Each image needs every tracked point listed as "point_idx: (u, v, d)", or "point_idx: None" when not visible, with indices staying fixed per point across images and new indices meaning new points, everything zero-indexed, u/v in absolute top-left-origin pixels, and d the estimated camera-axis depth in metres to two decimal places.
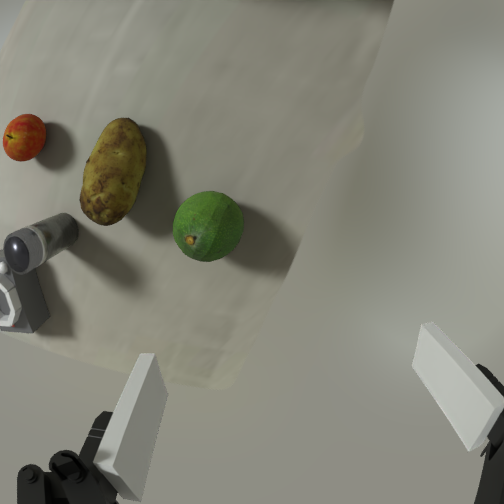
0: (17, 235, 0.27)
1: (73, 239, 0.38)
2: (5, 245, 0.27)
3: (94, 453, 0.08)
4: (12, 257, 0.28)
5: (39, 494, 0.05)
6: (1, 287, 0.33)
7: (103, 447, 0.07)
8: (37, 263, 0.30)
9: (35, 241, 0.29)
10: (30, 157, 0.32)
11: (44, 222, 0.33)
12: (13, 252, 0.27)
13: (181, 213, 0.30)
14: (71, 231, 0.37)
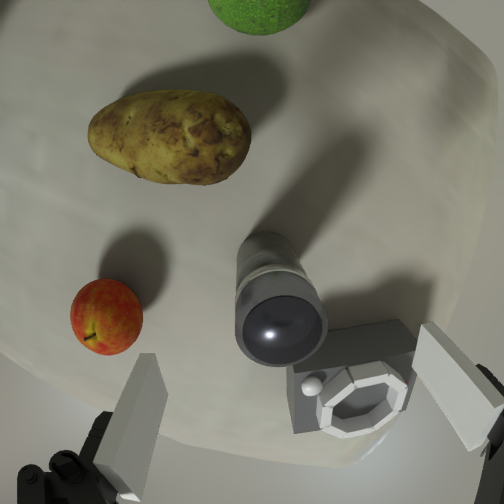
0: (240, 320, 0.16)
1: (280, 238, 0.26)
2: (260, 358, 0.17)
3: (94, 453, 0.08)
4: (288, 344, 0.16)
5: (39, 494, 0.05)
6: (344, 393, 0.23)
7: (103, 447, 0.07)
8: (309, 286, 0.17)
9: (262, 281, 0.17)
10: (134, 305, 0.25)
11: (237, 277, 0.22)
12: (277, 339, 0.16)
13: None
14: (265, 237, 0.25)
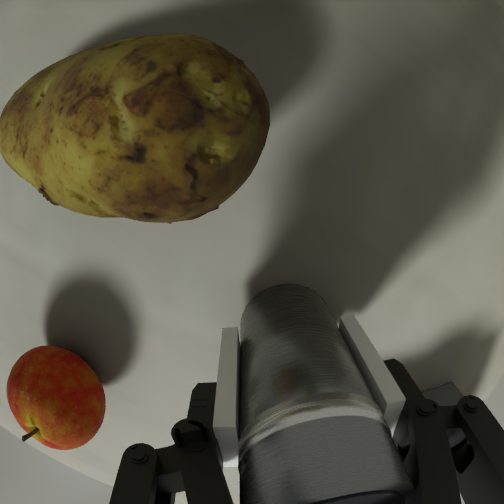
0: None
1: (313, 299, 0.15)
2: None
3: None
4: None
5: (145, 477, 0.07)
6: None
7: (219, 411, 0.09)
8: (388, 442, 0.07)
9: (298, 455, 0.06)
10: (87, 392, 0.14)
11: (243, 386, 0.11)
12: None
13: None
14: (290, 300, 0.15)
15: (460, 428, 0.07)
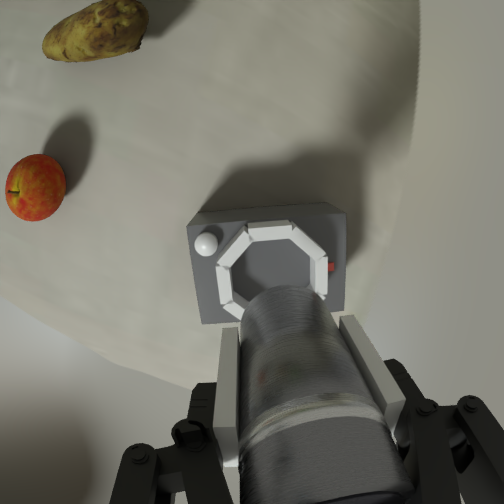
0: None
1: (313, 299, 0.15)
2: None
3: None
4: None
5: (145, 477, 0.07)
6: (238, 247, 0.23)
7: (219, 411, 0.09)
8: (388, 443, 0.07)
9: (298, 456, 0.06)
10: (56, 170, 0.24)
11: (243, 387, 0.11)
12: None
13: None
14: (289, 301, 0.14)
15: (460, 428, 0.07)
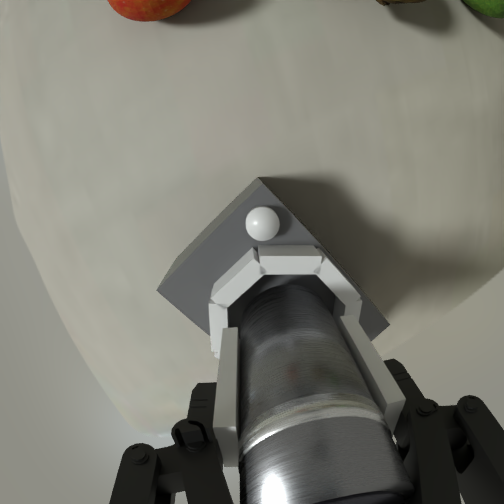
0: None
1: (313, 299, 0.15)
2: None
3: None
4: None
5: (146, 477, 0.07)
6: (297, 265, 0.16)
7: (219, 411, 0.09)
8: (388, 443, 0.07)
9: (298, 456, 0.06)
10: None
11: (243, 387, 0.11)
12: None
13: None
14: (290, 301, 0.14)
15: (460, 427, 0.07)
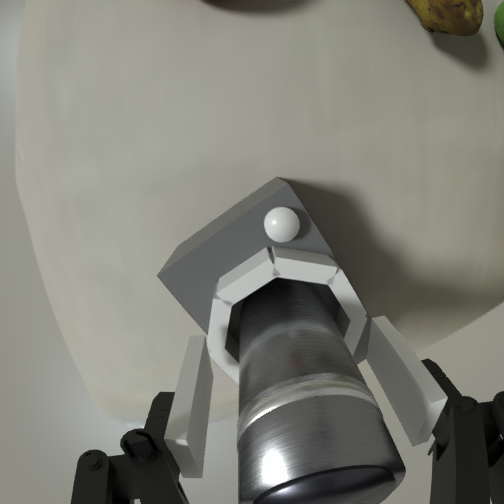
0: (247, 498, 0.06)
1: (309, 291, 0.16)
2: None
3: (158, 432, 0.09)
4: None
5: (100, 481, 0.06)
6: (312, 273, 0.15)
7: (172, 423, 0.09)
8: (378, 421, 0.08)
9: (292, 429, 0.07)
10: None
11: (241, 372, 0.12)
12: None
13: None
14: (286, 292, 0.15)
15: (497, 423, 0.07)
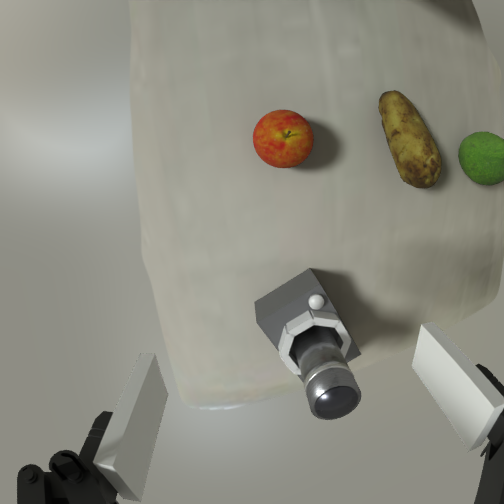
0: (314, 399, 0.26)
1: (326, 330, 0.36)
2: (322, 416, 0.26)
3: (94, 453, 0.08)
4: (338, 408, 0.26)
5: (39, 494, 0.05)
6: (328, 323, 0.35)
7: (103, 447, 0.07)
8: (351, 376, 0.27)
9: (326, 376, 0.27)
10: None
11: (303, 363, 0.32)
12: (333, 406, 0.26)
13: (492, 148, 0.28)
14: (317, 331, 0.35)
15: None
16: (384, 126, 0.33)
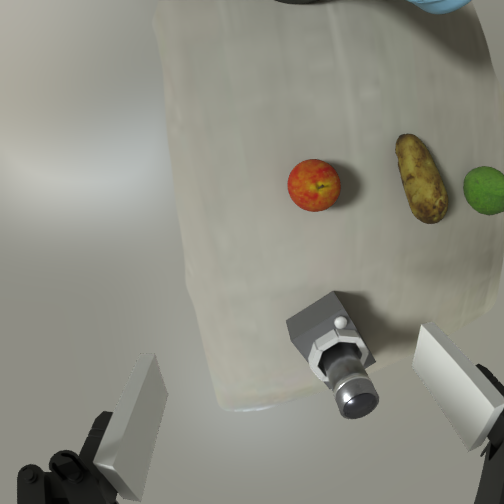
0: (343, 403, 0.32)
1: (348, 344, 0.42)
2: (348, 416, 0.33)
3: (94, 453, 0.08)
4: (361, 410, 0.32)
5: (39, 494, 0.05)
6: (350, 339, 0.41)
7: (103, 447, 0.07)
8: (371, 384, 0.33)
9: (352, 385, 0.33)
10: None
11: (331, 374, 0.38)
12: (357, 409, 0.32)
13: (493, 186, 0.33)
14: (341, 346, 0.41)
15: None
16: (400, 169, 0.38)
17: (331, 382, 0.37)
